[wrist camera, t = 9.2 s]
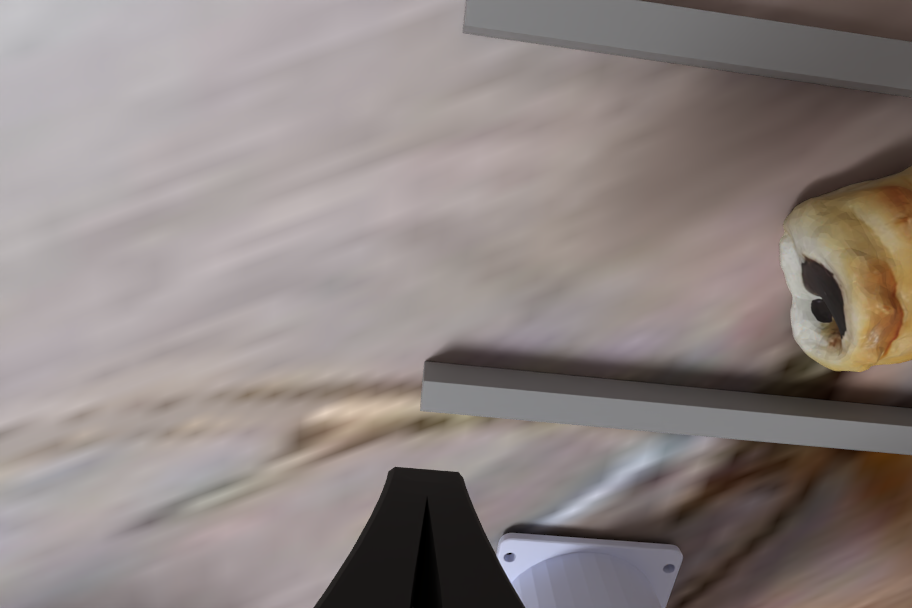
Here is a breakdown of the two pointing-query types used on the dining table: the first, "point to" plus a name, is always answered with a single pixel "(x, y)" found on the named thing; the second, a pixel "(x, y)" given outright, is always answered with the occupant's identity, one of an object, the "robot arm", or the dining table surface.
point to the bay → (709, 46)
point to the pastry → (852, 273)
